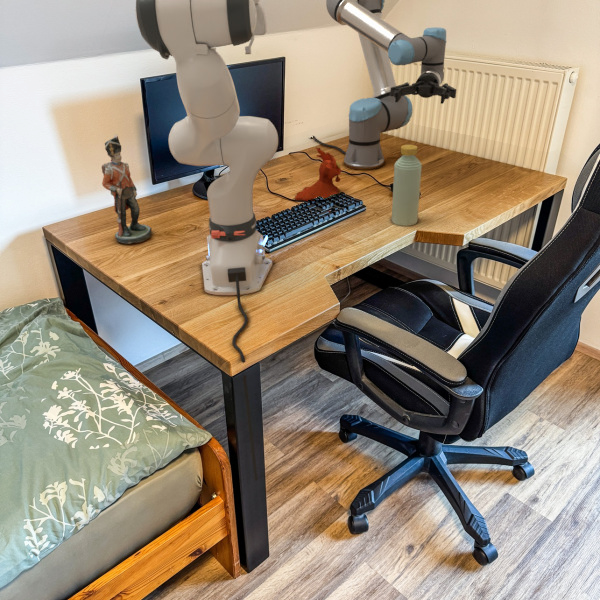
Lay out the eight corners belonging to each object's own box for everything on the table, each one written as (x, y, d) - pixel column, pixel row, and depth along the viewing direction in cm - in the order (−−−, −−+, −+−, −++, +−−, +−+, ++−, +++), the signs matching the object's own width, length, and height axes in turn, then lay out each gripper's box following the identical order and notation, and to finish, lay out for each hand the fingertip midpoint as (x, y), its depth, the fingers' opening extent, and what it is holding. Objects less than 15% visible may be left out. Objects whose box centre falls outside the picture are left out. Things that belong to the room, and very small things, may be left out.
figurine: (142, 245, 163) (121, 143, 147) (109, 243, 165) (84, 142, 149) (157, 230, 172) (139, 131, 156) (125, 228, 174) (104, 131, 158)
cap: (411, 149, 163) (411, 143, 162) (420, 154, 159) (420, 147, 158) (397, 152, 161) (398, 146, 161) (406, 156, 158) (406, 150, 157)
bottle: (408, 213, 176) (413, 142, 164) (422, 222, 170) (428, 149, 158) (386, 218, 173) (390, 146, 161) (400, 227, 167) (405, 154, 155)
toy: (349, 195, 190) (350, 151, 182) (303, 205, 184) (301, 160, 176) (331, 183, 200) (331, 141, 192) (287, 193, 194) (284, 150, 186)
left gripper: (182, -1, 142) (190, 58, 149) (263, -5, 141) (267, 55, 149) (187, -3, 147) (194, 54, 154) (265, -6, 147) (268, 51, 154)
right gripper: (465, 96, 185) (460, 112, 168) (390, 94, 192) (377, 109, 175) (468, 72, 181) (463, 86, 164) (391, 71, 188) (378, 84, 171)
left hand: (231, 54), depth 151 cm, fingers open, 8 cm apart
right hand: (419, 98), depth 169 cm, fingers open, 13 cm apart
